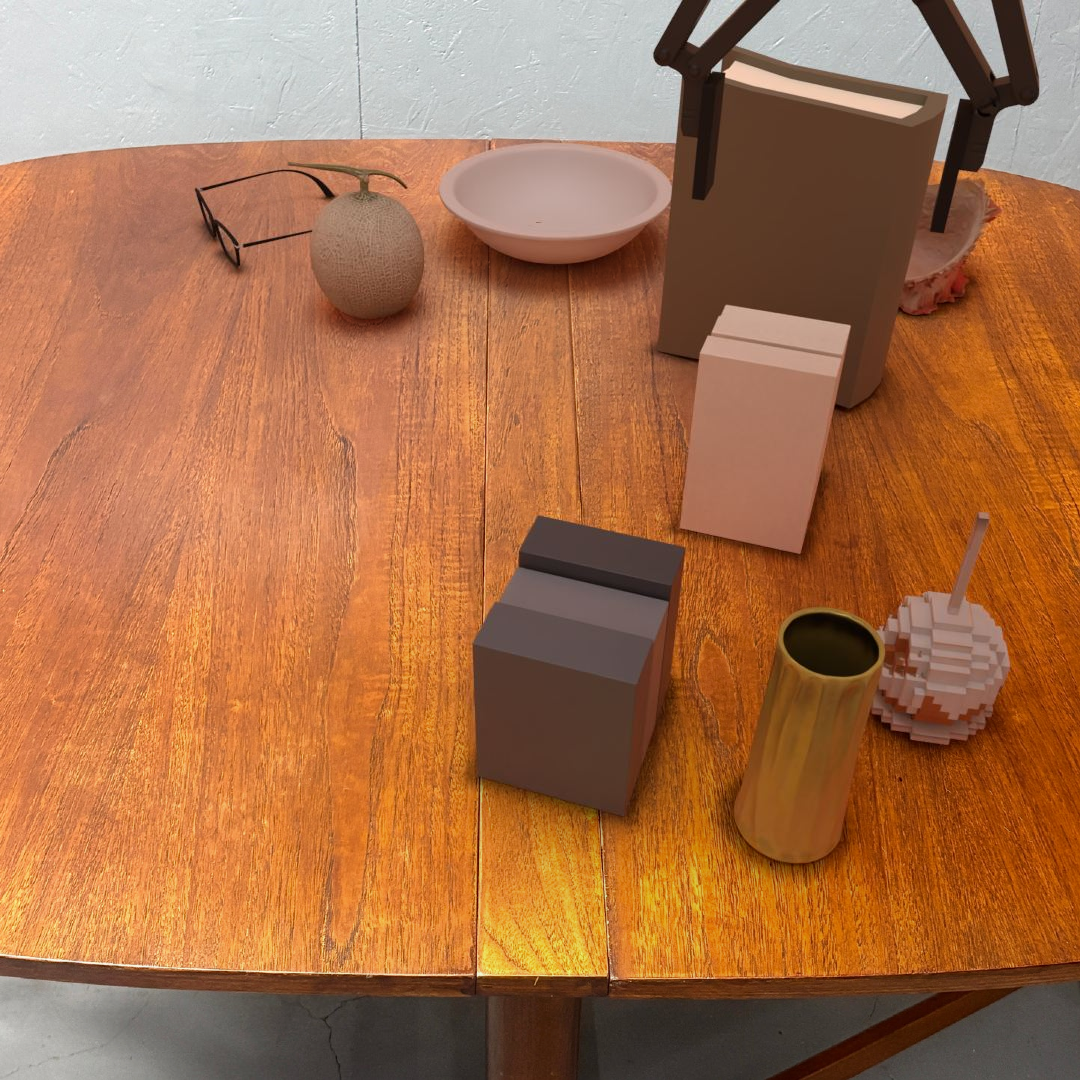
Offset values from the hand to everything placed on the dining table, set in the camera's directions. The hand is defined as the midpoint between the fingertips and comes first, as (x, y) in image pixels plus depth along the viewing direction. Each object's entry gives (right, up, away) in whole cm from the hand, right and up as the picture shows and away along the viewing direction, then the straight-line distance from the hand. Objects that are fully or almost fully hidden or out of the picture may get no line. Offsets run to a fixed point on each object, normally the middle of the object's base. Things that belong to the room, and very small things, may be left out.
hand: (817, 207), depth 67 cm
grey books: (-14, -31, +4) cm, 34 cm away
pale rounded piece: (+8, -30, +6) cm, 31 cm away
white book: (-1, -19, +19) cm, 26 cm away
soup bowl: (-15, +12, +55) cm, 58 cm away
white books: (+1, -15, +23) cm, 27 cm away
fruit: (-32, +3, +44) cm, 55 cm away
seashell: (+20, +7, +51) cm, 55 cm away
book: (+5, -3, +37) cm, 38 cm away
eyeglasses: (-43, +13, +57) cm, 73 cm away
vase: (-2, -35, -1) cm, 36 cm away
